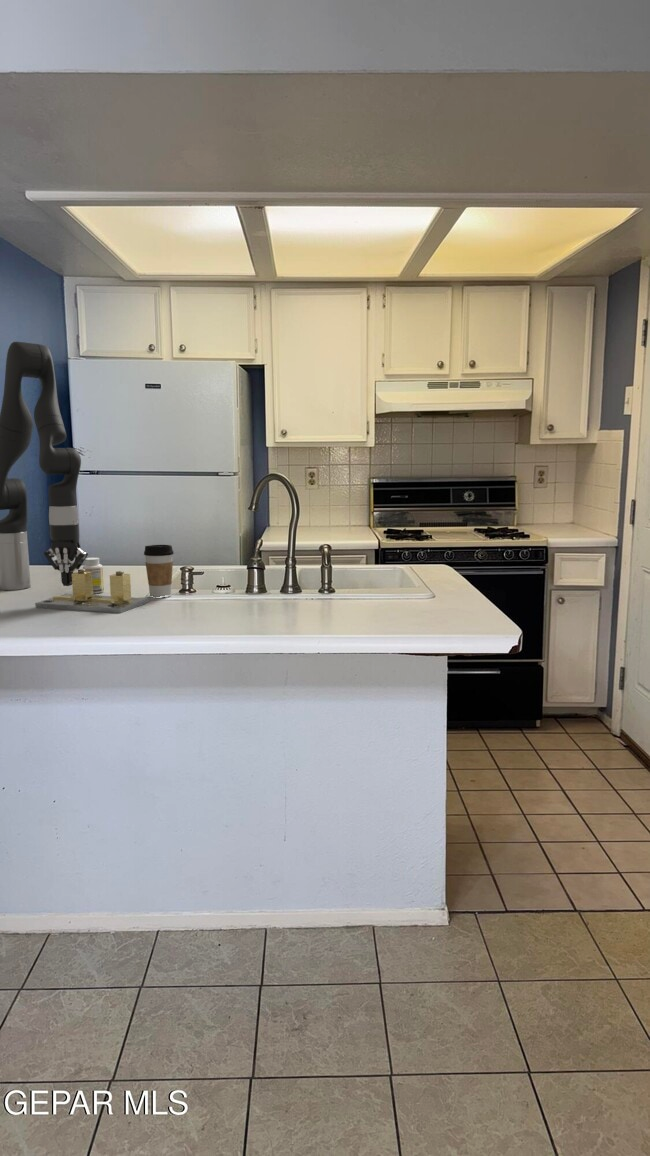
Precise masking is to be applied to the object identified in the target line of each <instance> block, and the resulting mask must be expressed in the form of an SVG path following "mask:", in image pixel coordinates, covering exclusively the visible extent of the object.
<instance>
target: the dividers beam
mask: <svg viewBox="0 0 650 1156" xmlns="http://www.w3.org/2000/svg"><path fill="white" fill-rule="evenodd" d="M124 572H125V571H123V570H122V571H121V570H119V571H117V570H116V571H115V573H114V574H110V575H109V587H110V588H109V591H110V596H111V598H110V599H102V598H87V601H94V602H110V603H111V605H115V603H126V604H130V603H133V600H127V599H130V598H131V597H132V591H131V590H132V589H131V587H132V585H131V573H124ZM52 598H53V599H63V600H73V599H71V597H70V596H60V595H54V596H52ZM78 601H81V600H78Z"/></svg>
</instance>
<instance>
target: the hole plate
mask: <svg viewBox="0 0 650 1156" xmlns="http://www.w3.org/2000/svg"><path fill="white" fill-rule="evenodd" d="M93 595H94V598H102V599H110V598H111V595H96V594H93ZM59 596H70V597H71V596H73V593H64V594H60V595H59ZM148 599H149V598H147V597H133V596H131V598H130V599H127V600H133V603H130V604H126V603H115V605H111V603H110V602H94V601H78V600H76V602H73V600H63V599H53V597H50V598H47V599H44V600H41V601H37V602H35V603H34V606H35V608H37V609H39V608H40V609H55V610H69V611H70V610H71V611H81V612H82V611H84V612H98V613H100V612H101V613H114V614H122V613H124V612H127V611H129V610H133V609H135V608H138V607H140V606H142V605H145V604H149V600H148Z"/></svg>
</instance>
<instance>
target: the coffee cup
mask: <svg viewBox="0 0 650 1156" xmlns="http://www.w3.org/2000/svg"><path fill="white" fill-rule="evenodd" d="M174 554H175V553H174V549H173V547H172V545H171V544H151V545H150V544H149V545H145V546H144V552H143V556H145V563H144V564H145V567H146V569H145V570H146V575H147V576H146V577H147V582H148V591H149V596H153V597H160V596H165V595H170V594H171V595H172V583H173V581H172V580H173V565H174V561H173V555H174Z"/></svg>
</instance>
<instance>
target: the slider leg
mask: <svg viewBox="0 0 650 1156" xmlns="http://www.w3.org/2000/svg"><path fill="white" fill-rule="evenodd" d="M71 586H72V594H73V596H71V599H73V602H76V600H81V601H87V598H94V595H95V594H93V578H92V572H86V570H85V569H83V568H82V569H80V568H79V569H78V570H77V571H76V572H73V573H72V585H71Z"/></svg>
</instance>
